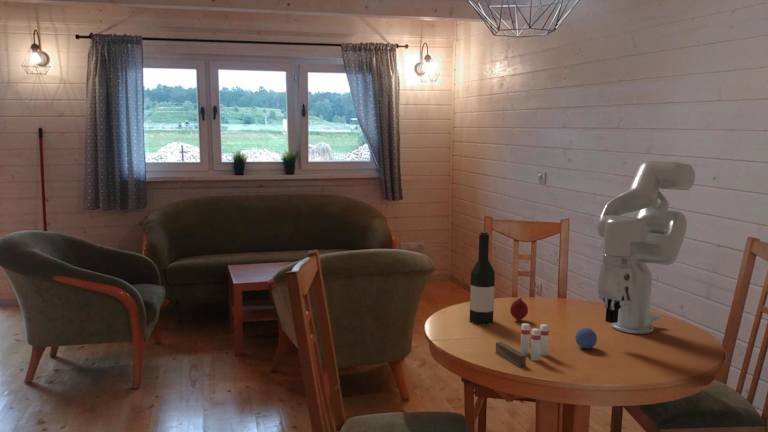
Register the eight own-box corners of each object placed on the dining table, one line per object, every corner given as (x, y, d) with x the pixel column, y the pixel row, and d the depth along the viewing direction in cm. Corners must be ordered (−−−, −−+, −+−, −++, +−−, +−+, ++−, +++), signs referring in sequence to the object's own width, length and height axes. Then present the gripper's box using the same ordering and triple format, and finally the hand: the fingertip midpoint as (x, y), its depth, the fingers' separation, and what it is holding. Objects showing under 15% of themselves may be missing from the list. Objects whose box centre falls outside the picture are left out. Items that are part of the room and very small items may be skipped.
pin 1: (525, 351, 187) (527, 322, 186) (530, 354, 184) (532, 325, 183) (518, 352, 186) (519, 323, 185) (523, 355, 184) (524, 326, 182)
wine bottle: (474, 325, 211) (477, 234, 207) (465, 318, 219) (467, 230, 215) (498, 323, 213) (501, 233, 209) (488, 316, 221) (491, 229, 217)
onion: (527, 323, 213) (528, 300, 212) (509, 322, 214) (510, 299, 213) (527, 318, 219) (528, 295, 218) (510, 317, 220) (510, 294, 219)
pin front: (544, 352, 186) (545, 323, 185) (549, 355, 184) (550, 326, 183) (536, 353, 185) (538, 324, 184) (542, 356, 183) (543, 327, 182)
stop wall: (501, 351, 186) (501, 341, 186) (525, 366, 175) (526, 355, 175) (495, 352, 186) (495, 342, 185) (519, 367, 175) (519, 356, 174)
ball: (587, 343, 194) (588, 324, 193) (600, 350, 189) (601, 330, 188) (570, 346, 192) (571, 326, 191) (584, 352, 186) (585, 332, 186)
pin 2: (536, 357, 182) (537, 328, 181) (541, 360, 180) (542, 330, 179) (528, 358, 181) (529, 329, 180) (533, 361, 179) (535, 331, 178)
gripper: (645, 265, 185) (640, 327, 187) (608, 256, 198) (604, 314, 200) (624, 266, 182) (619, 329, 184) (588, 257, 196) (584, 316, 197)
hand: (611, 321), depth 192 cm, fingers closed
